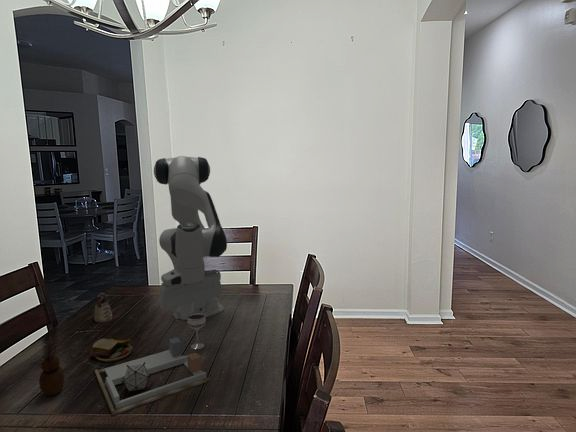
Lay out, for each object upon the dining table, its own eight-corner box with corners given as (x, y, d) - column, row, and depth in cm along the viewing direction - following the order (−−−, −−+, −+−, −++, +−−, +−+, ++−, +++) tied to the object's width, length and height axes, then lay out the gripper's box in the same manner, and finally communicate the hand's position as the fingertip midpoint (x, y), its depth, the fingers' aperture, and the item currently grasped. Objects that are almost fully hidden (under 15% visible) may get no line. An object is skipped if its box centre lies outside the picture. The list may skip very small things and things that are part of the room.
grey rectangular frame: (190, 359, 136) (190, 346, 135) (207, 378, 124) (207, 363, 123) (105, 386, 120) (104, 371, 119) (116, 410, 108) (115, 394, 107)
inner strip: (176, 350, 142) (175, 335, 141) (183, 359, 136) (182, 343, 135) (105, 371, 128) (103, 354, 127) (110, 382, 122) (108, 364, 121)
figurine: (115, 316, 173) (113, 290, 171) (106, 323, 166) (104, 296, 164) (100, 315, 174) (98, 290, 172) (91, 322, 167) (88, 295, 165)
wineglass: (210, 343, 148) (209, 313, 146) (200, 351, 142) (199, 320, 140) (194, 340, 150) (193, 311, 148) (184, 348, 144) (183, 318, 142)
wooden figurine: (49, 386, 120) (44, 340, 118) (68, 385, 121) (64, 340, 119) (37, 399, 114) (32, 351, 111) (57, 398, 114) (53, 350, 112)
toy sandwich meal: (119, 365, 133) (118, 352, 132) (84, 361, 135) (83, 348, 135) (139, 347, 145) (138, 335, 144) (107, 344, 148) (106, 332, 147)
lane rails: (180, 348, 144) (180, 345, 144) (209, 380, 123) (209, 377, 123) (95, 373, 127) (94, 369, 127) (112, 415, 107) (112, 411, 106)
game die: (140, 404, 117) (138, 391, 111) (116, 391, 119) (112, 378, 112) (158, 377, 124) (156, 363, 117) (135, 365, 125) (132, 351, 118)
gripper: (216, 266, 132) (217, 305, 134) (155, 276, 121) (157, 319, 123) (224, 270, 127) (225, 310, 129) (162, 281, 116) (164, 325, 118)
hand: (192, 315), depth 126 cm, fingers open, 8 cm apart
